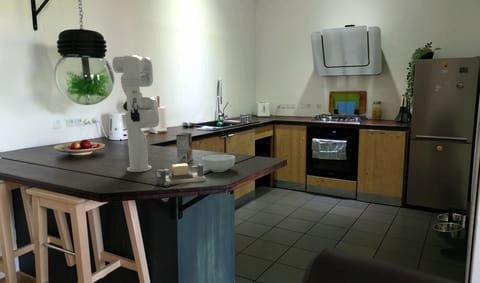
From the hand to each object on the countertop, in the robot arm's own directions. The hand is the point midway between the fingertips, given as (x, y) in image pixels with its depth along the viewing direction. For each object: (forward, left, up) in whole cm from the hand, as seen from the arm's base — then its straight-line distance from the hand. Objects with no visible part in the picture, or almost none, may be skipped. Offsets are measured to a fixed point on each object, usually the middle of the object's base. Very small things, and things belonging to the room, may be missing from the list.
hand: (135, 120), depth 168 cm
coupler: (+9, +18, -27) cm, 34 cm away
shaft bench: (+9, +18, -28) cm, 34 cm away
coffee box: (-32, +29, -28) cm, 52 cm away
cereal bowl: (-1, +40, -29) cm, 49 cm away
